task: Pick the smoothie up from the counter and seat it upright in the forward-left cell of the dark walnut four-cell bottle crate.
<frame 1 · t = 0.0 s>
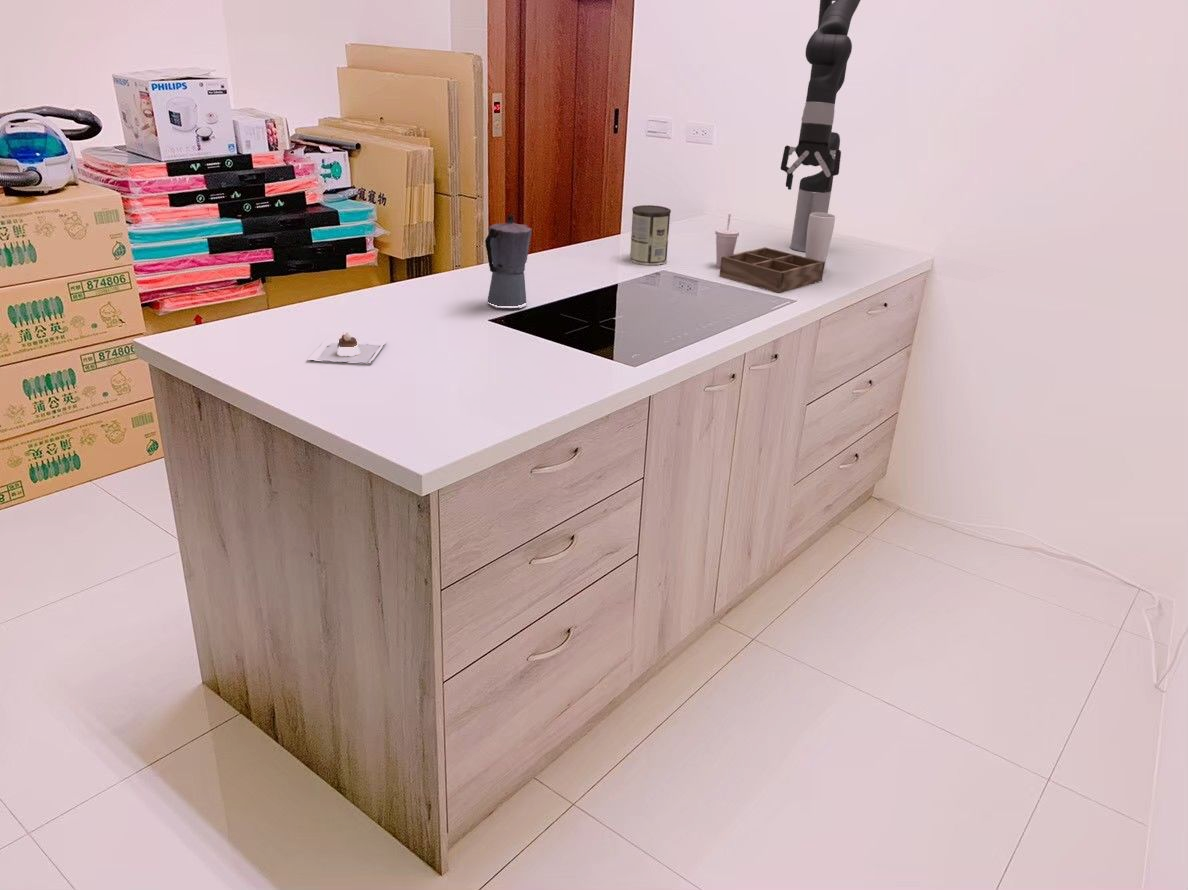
hand: (806, 191, 220), 22 cm above the table, tool pointing down, fingers open, 8 cm apart
coffee can: (647, 261, 239), on the table
moka pot: (507, 306, 197), on the table
dessert: (348, 356, 166), on the table
smoothie: (723, 267, 237), on the table
bottle crate: (770, 278, 228), on the table
drinking glass: (813, 271, 238), on the table
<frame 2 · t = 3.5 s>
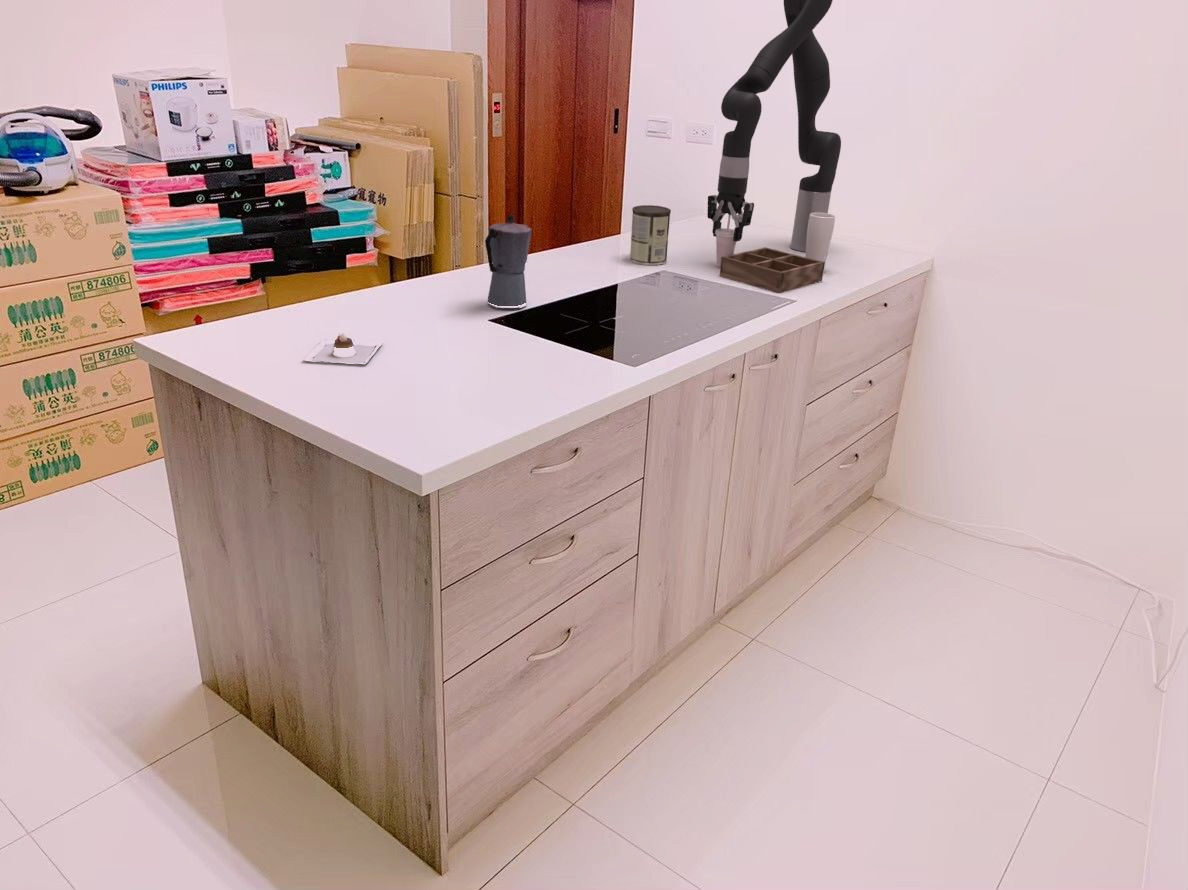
hand: (726, 238, 234), 8 cm above the table, tool pointing down, fingers closed on smoothie, 6 cm apart
smoothie: (723, 267, 237), on the table, touching gripper
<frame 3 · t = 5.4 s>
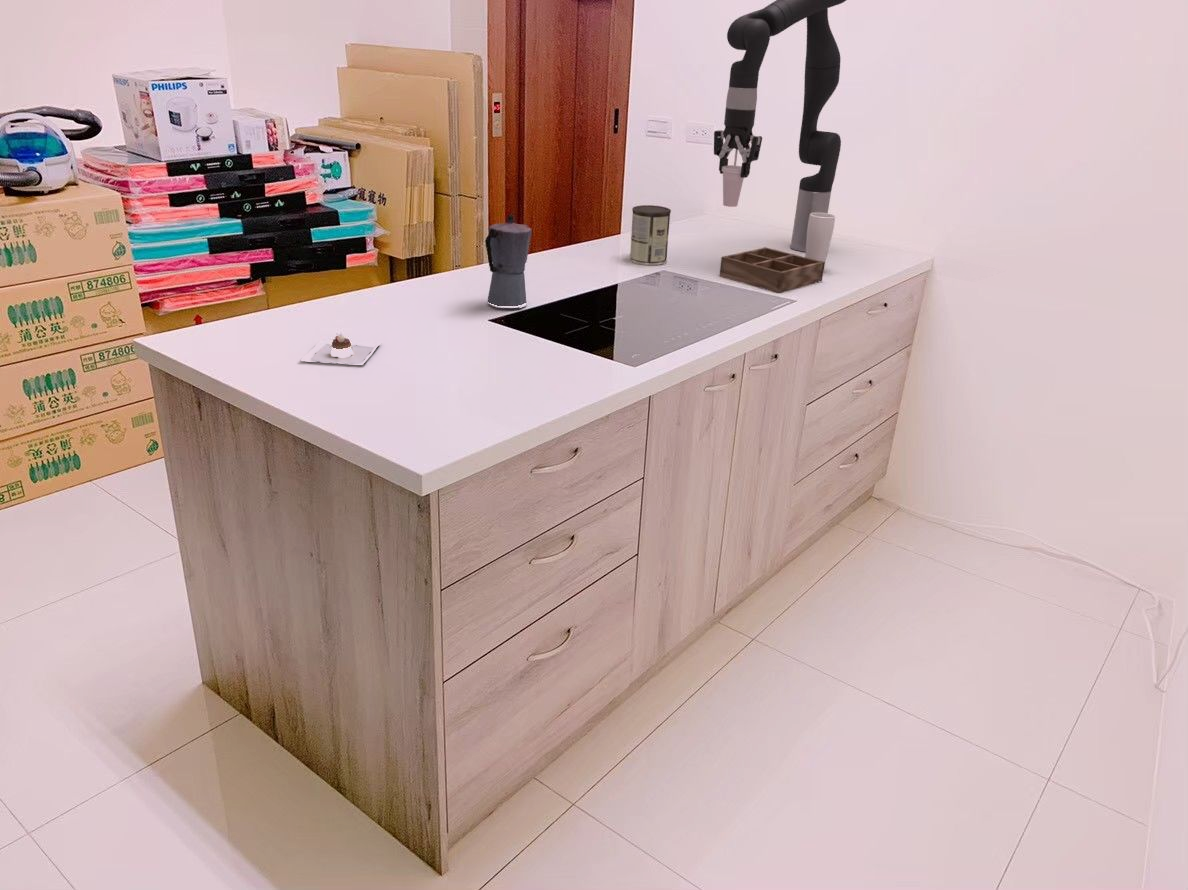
hand: (733, 175, 227), 24 cm above the table, tool pointing down, fingers closed on smoothie, 6 cm apart
smoothie: (730, 206, 230), point 16 cm above the table, touching gripper
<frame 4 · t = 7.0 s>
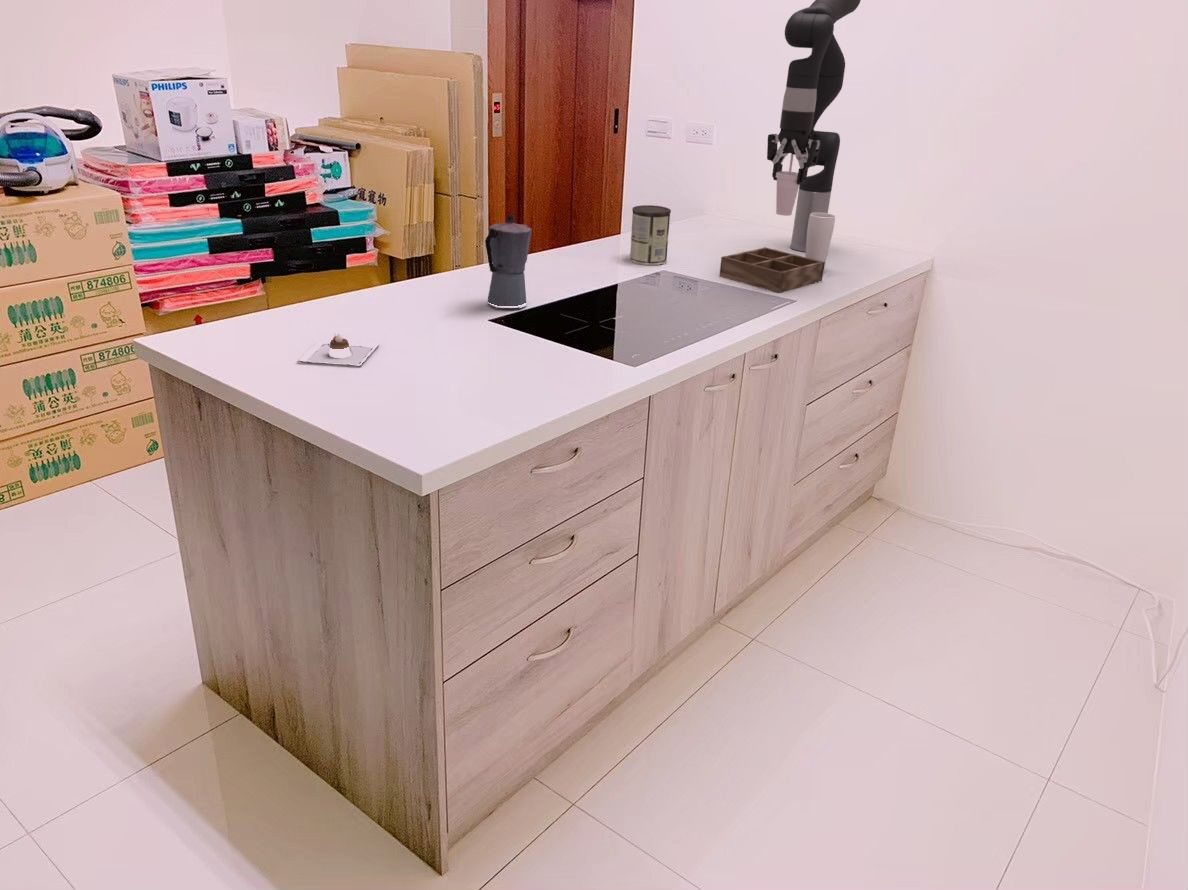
hand: (788, 181, 211), 26 cm above the table, tool pointing down, fingers closed on smoothie, 6 cm apart
smoothie: (783, 214, 215), point 18 cm above the table, touching gripper
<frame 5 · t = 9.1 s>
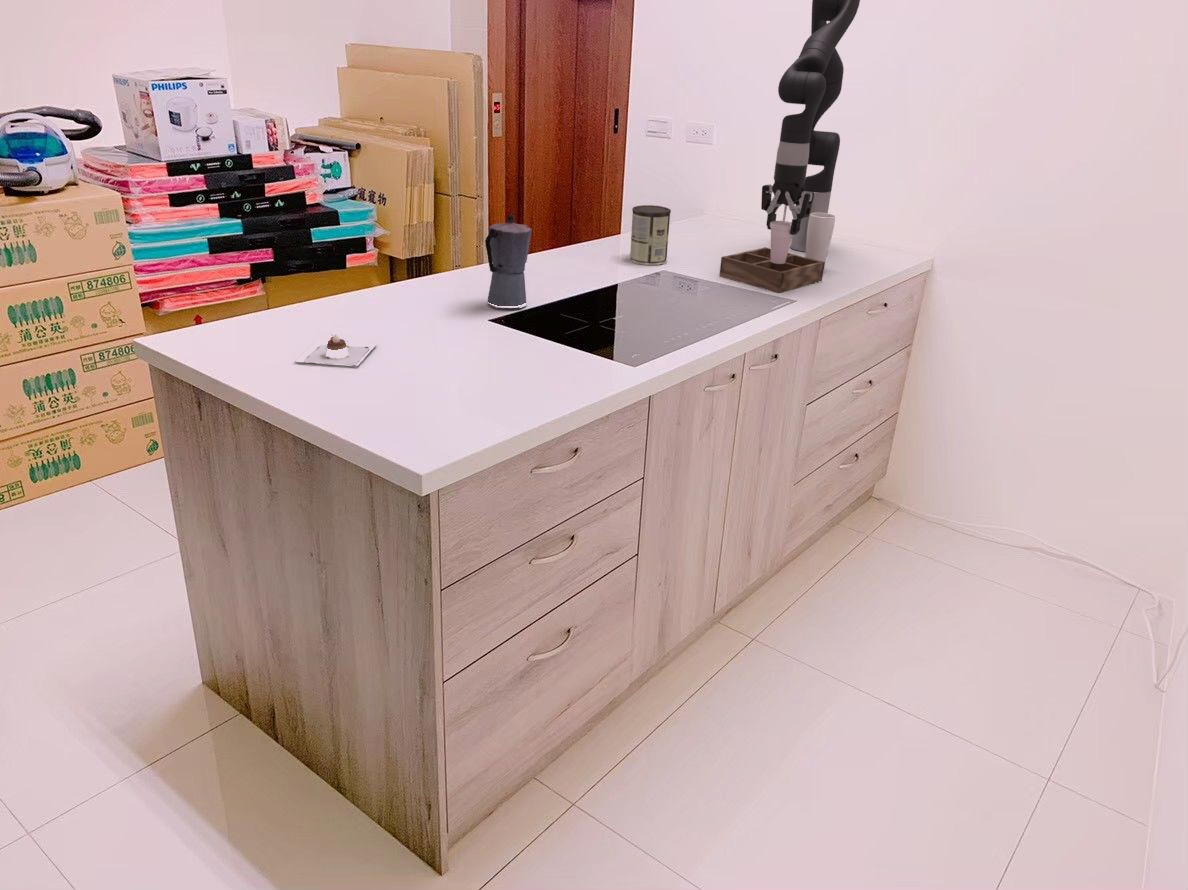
hand: (782, 231, 217), 14 cm above the table, tool pointing down, fingers closed on smoothie, 6 cm apart
smoothie: (777, 262, 220), point 6 cm above the table, touching gripper
when the fingers open (10 cm above the table, at t = 10.8 s): smoothie drops 2 cm, resting on bottle crate.
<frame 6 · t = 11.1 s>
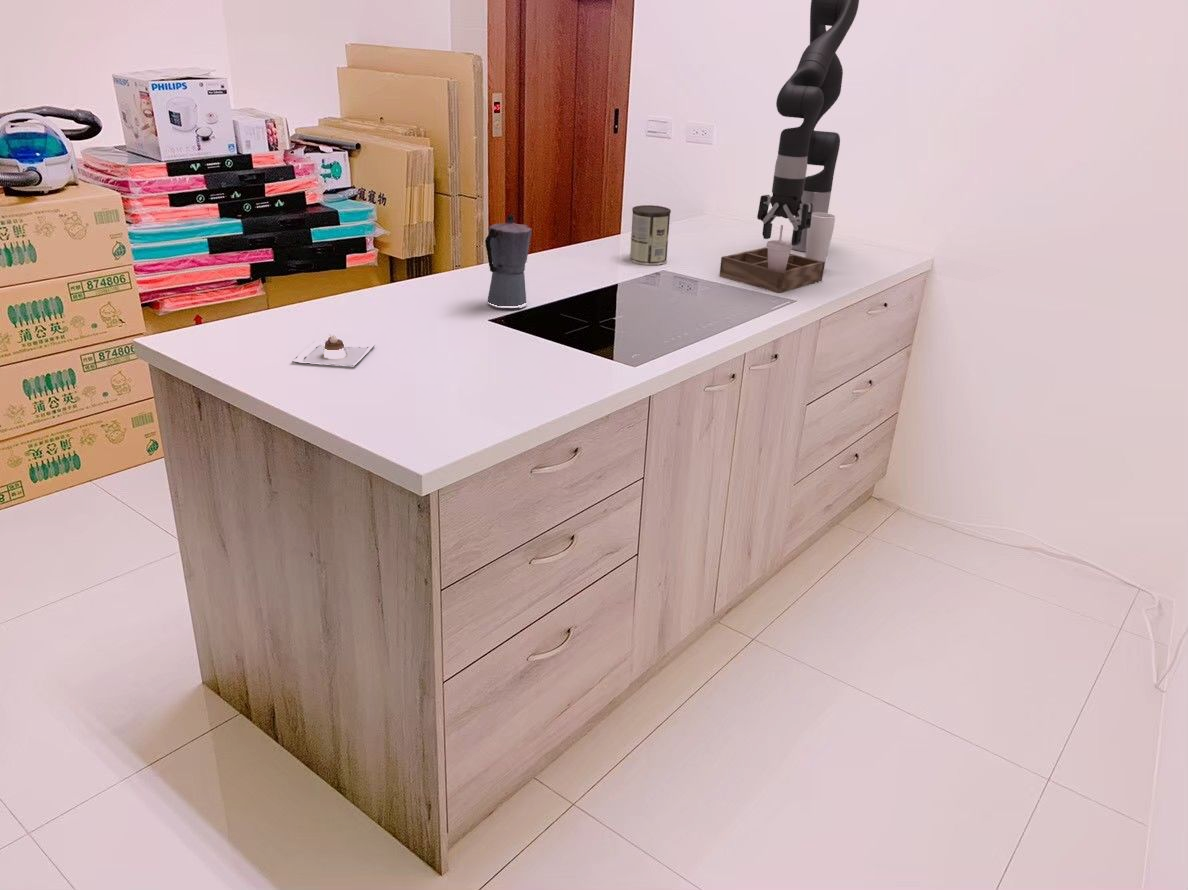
hand: (780, 241, 218), 11 cm above the table, tool pointing down, fingers open, 8 cm apart
smoothie: (775, 281, 222), point 1 cm above the table, touching bottle crate
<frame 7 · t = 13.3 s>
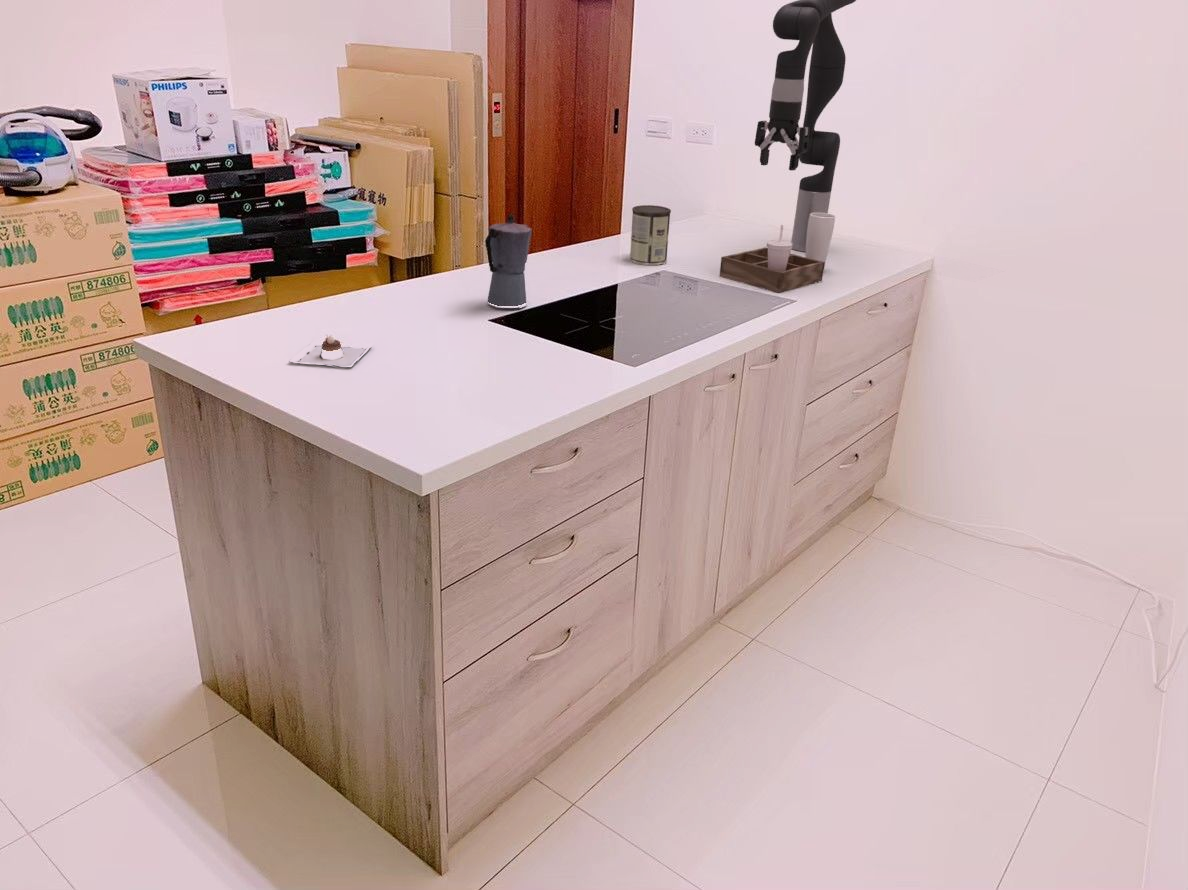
hand: (778, 167, 219), 27 cm above the table, tool pointing down, fingers open, 8 cm apart
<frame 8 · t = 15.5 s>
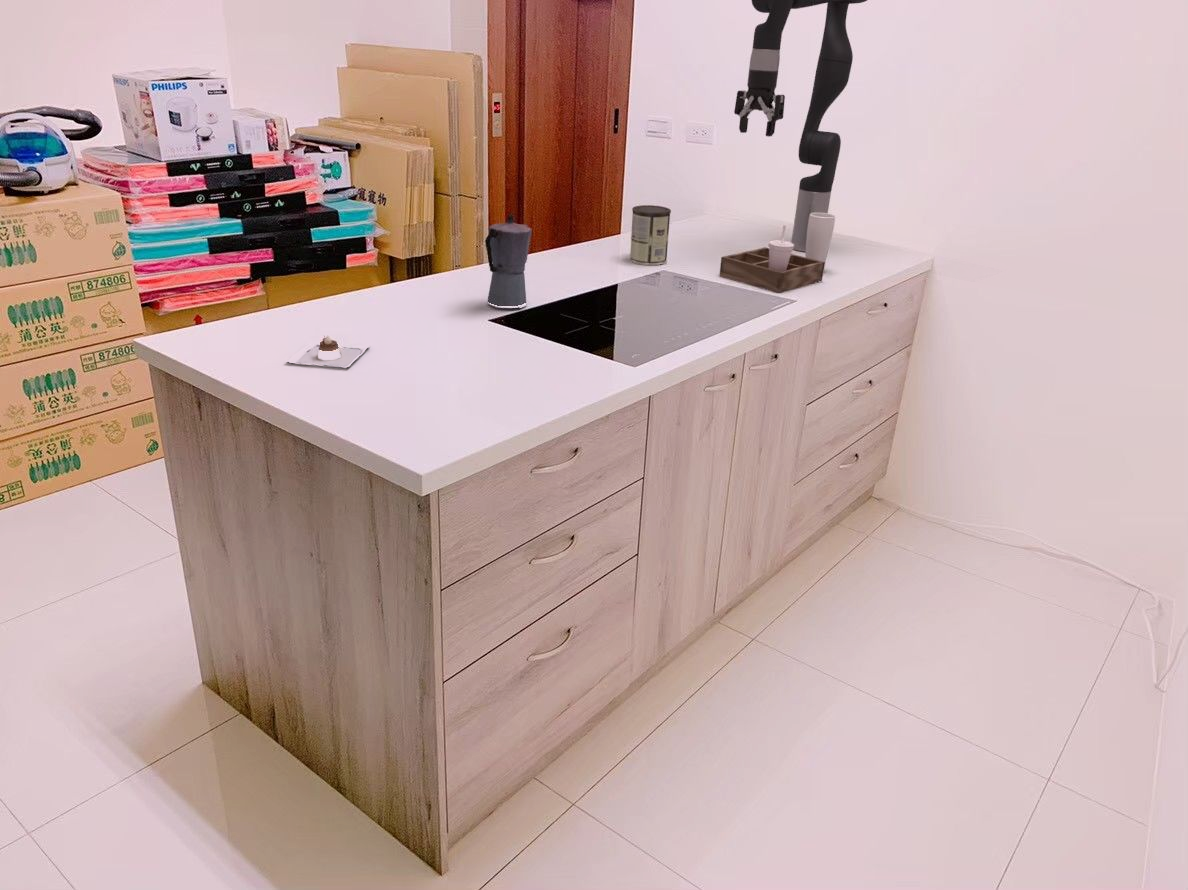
hand: (755, 134, 233), 33 cm above the table, tool pointing down, fingers open, 8 cm apart
at the end: smoothie 0.1 cm from the target spot on the bottle crate, point 0.8 cm above the bottle crate's base; smoothie tilted 1°; the gripper is holding nothing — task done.
